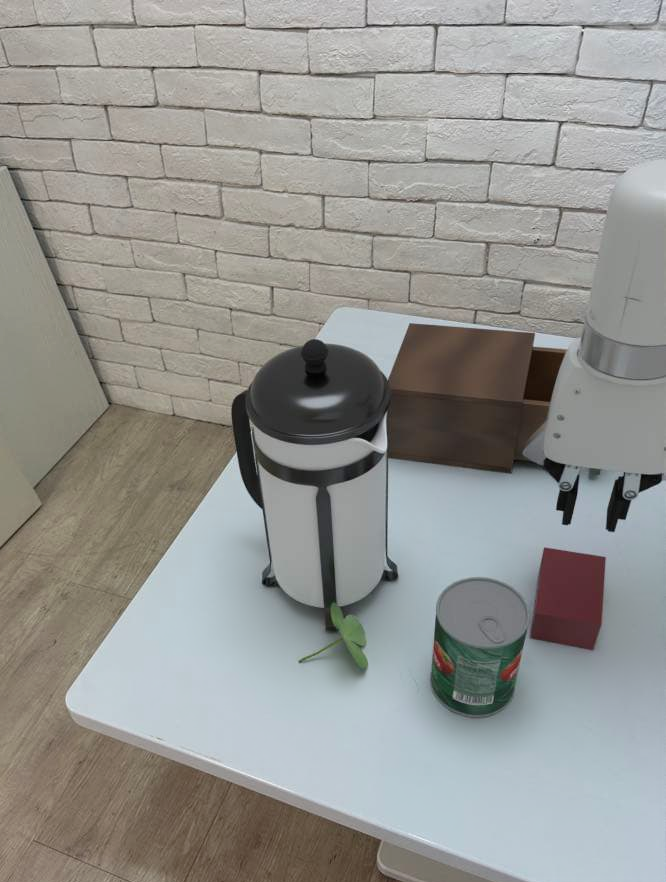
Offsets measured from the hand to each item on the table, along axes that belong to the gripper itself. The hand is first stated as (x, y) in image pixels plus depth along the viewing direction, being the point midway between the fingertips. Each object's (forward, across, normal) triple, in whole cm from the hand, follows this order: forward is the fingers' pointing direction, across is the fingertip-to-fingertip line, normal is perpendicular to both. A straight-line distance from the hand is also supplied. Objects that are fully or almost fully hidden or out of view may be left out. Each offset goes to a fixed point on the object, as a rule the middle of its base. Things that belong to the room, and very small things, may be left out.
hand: (588, 516), depth 73 cm
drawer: (+12, +3, -27) cm, 30 cm away
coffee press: (+13, +26, +1) cm, 29 cm away
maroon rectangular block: (+13, 0, 0) cm, 13 cm away
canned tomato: (+13, +8, +11) cm, 19 cm away
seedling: (+13, +21, +10) cm, 27 cm away
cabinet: (+13, +16, -27) cm, 34 cm away
